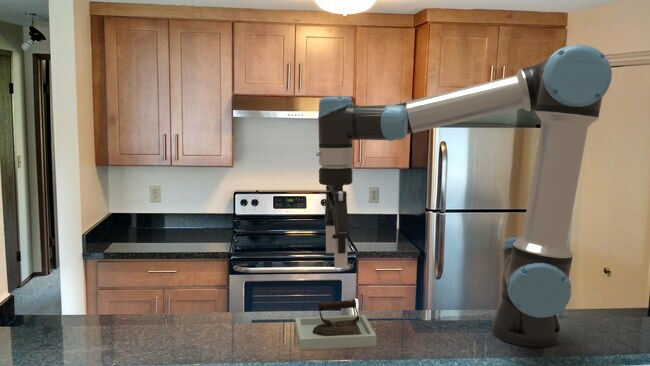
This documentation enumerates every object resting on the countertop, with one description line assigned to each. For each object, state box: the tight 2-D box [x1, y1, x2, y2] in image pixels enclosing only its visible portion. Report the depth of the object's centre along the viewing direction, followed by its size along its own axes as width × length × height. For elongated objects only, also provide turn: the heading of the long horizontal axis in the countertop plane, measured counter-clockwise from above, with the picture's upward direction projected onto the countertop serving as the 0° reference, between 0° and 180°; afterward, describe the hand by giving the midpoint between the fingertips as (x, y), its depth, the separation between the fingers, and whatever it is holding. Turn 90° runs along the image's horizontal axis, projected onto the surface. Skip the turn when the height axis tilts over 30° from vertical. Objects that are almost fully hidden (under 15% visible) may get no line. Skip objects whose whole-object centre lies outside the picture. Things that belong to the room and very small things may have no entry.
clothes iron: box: [313, 298, 362, 336], centre depth 125 cm, size 7×11×10 cm, turn 97°
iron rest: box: [294, 314, 378, 351], centre depth 126 cm, size 17×13×2 cm
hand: (336, 259), depth 124 cm, fingers open, 13 cm apart
